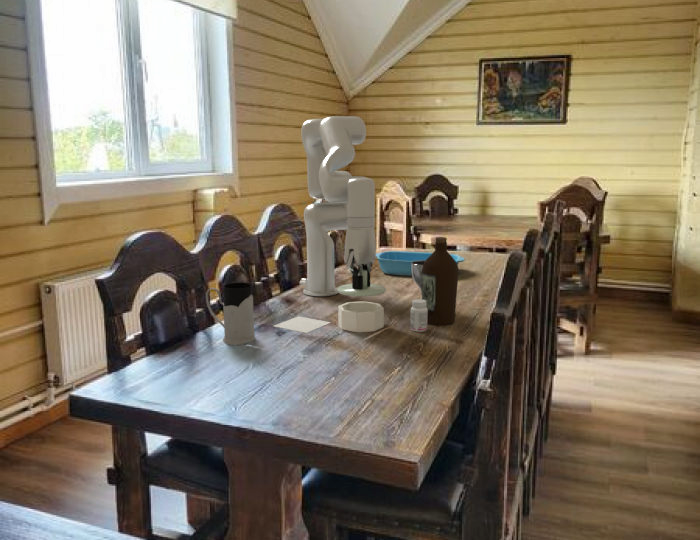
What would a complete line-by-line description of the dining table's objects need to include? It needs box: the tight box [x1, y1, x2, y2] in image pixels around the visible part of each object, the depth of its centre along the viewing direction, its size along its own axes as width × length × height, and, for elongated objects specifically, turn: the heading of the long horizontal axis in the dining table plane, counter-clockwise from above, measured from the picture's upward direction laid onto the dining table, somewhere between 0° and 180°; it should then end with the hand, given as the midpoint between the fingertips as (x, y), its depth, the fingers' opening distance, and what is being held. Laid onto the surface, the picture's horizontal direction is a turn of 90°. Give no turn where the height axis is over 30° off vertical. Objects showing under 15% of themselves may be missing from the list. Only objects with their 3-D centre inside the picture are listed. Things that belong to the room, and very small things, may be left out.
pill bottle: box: [409, 298, 428, 333], centre depth 174 cm, size 5×5×8 cm
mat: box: [273, 315, 332, 334], centre depth 178 cm, size 12×12×1 cm
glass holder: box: [205, 282, 257, 346], centre depth 165 cm, size 9×14×15 cm, turn 70°
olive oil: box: [422, 236, 460, 326], centre depth 181 cm, size 11×11×25 cm
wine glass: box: [411, 260, 426, 300], centre depth 195 cm, size 8×8×15 cm
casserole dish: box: [375, 250, 465, 277], centre depth 252 cm, size 37×22×7 cm, turn 77°
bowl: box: [337, 300, 385, 333], centre depth 176 cm, size 12×12×6 cm
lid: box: [337, 270, 387, 297], centre depth 174 cm, size 14×14×6 cm
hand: (361, 287), depth 174 cm, fingers closed on lid, 3 cm apart
